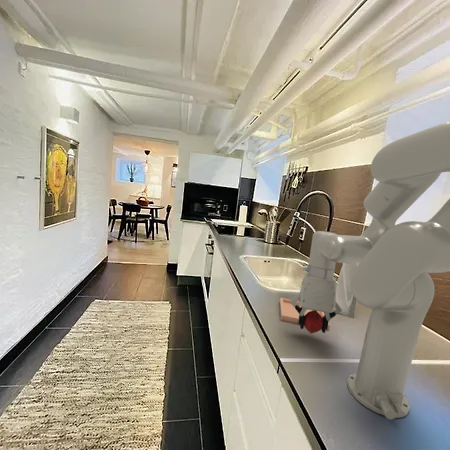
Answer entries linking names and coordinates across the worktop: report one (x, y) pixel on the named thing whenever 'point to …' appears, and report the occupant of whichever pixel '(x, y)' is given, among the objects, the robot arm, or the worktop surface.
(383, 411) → the robot arm
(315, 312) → the red round fruit
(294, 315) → the dish
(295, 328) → the worktop surface
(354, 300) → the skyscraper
